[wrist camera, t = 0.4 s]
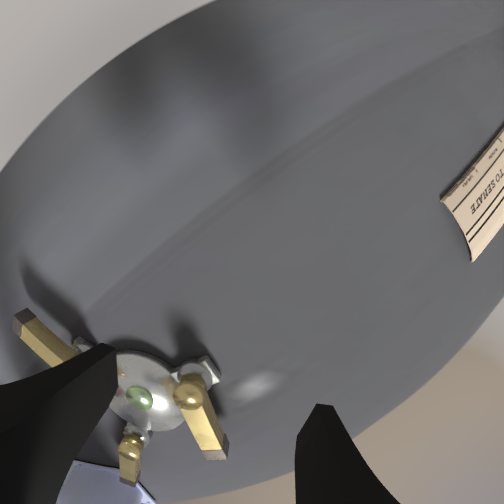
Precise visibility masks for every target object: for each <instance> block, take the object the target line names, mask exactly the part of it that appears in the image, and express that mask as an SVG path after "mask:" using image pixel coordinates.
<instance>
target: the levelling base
mask: <svg viewBox="0 0 504 504" xmlns="http://www.w3.org/2000/svg"><path fill="white" fill-rule="evenodd" d="M94 346H96V345H95V344H94V343H92V342H90V341H87V340H84V339H83V338H82V337H81V336H79V337H77V338H76V339H75V340H74V343H73V346H72V349H73V350H74V351H76V352H77V353H80V354H81V353H83V352H85V351H87V350H89V349H90V348H92V347H94ZM116 356H117V373H118V385H119V387H118V389H117V391H116V393H115V395H114V397H113V399H112V401H111V403H110V405H109V407H110V408H111V409H112V410H113V411H114V412H115V413H116V414H117V415H119V416H120V417H121V418H122V419H124V420H125V421H127V424H126V426H125V428H124V430H123V433H124V435H125V434H133V435H136V436H138V437H139V438H141V439H142V440H143V442H144V447H146V446H147V444H148V443H149V441H150V439H151V437H152V431H166V430H170V429H173V428H176V427H177V426H179V425H180V424H181V423H182V422H183V421H184V419H185V417H184V415H183V413H182V411H181V409H180V407H179V406H178V405H176V403H175V402H174V400H173V393H174V391H175V389H176V386H177V384H178V382H179V379H180V378H181V376H182V375H184V374H187V373H193V374H197V375H199V376H200V377H202V378H203V379H204V380H205V382H206V384H207V389H206V391H208V390H209V389H210V388H211V386H212V384H215V383H217V382H220V378H221V374H220V373H219V371H218V370H217V368H216V367H215V365H214V364H213V363H212V361H211V360H210V358H209V357H208V355H205V356H203V357H200V358H189V359H187V360H185V361H184V362H183V363H182V365H180V366H178V367H175V368H172V367H171V366H170V365H169V364H167V363H166V362H164V361H163V360H161V359H160V358H158V357H156V356H154V355H151V354H149V353H146V352H143V351H138V350H123V351H119V352H116Z"/></svg>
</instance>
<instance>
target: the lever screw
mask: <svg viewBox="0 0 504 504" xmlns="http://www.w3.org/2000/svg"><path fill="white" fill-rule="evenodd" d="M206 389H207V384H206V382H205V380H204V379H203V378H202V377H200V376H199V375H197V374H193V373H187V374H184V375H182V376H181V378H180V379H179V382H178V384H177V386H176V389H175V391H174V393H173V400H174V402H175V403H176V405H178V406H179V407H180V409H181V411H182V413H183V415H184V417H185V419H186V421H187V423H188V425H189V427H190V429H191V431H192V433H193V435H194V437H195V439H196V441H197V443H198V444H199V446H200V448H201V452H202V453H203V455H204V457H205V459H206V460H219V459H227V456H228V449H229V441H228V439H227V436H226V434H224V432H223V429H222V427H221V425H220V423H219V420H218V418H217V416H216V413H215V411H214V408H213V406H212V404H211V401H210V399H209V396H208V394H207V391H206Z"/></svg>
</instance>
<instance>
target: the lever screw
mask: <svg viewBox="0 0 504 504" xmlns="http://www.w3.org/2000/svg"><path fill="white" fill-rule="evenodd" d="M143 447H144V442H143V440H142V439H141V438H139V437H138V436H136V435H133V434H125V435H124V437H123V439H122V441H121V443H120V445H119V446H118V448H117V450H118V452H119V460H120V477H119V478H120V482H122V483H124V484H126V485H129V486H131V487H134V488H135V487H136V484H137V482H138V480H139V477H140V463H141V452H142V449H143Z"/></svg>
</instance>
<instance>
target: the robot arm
mask: <svg viewBox="0 0 504 504" xmlns="http://www.w3.org/2000/svg"><path fill="white" fill-rule="evenodd" d="M118 387H119V385H118V373H117V356H116V348H114V347H111V346H109V345H106V344H104V343H100V344H98V345H96V346H94V347H92V348H90V349H89V350H87V351H85V352H83V353H81V354H79V355H77V356H75V357H73V358H71V359H69V360H67V361H65V362H63V363H61V364H59V365H57V366H54V367H52V368H50V369H48V370H45V371H43V372H40V373H38V374H36V375H33V376H31V377H28V378H25V379H22V380H19V381H15V382H12V383H8V384H4V385H0V504H55V503H56V501H57V503H58V504H141V503H147V504H155V503H156V501H155V500H154V499H153V498H152V497H151V496H150V495H149V494H148V493H147V492H146V491H145V489H144V488H143V487H142V486H141V485H140V484H139V483H138V482H137V484H136V487H135V488H134V487H131V486H129V485H126V484H124V483H122V482H120V478H119V477H120V469H117V468H111V467H105V466H100V465H95V464H90V463H85V462H81V461H77V460H74V459H75V457H76V455H77V453H78V451H79V450H80V448H81V446H82V445H83V443H84V442H85V440H86V439H87V438H88V436H89V435H90V433H91V432H92V430H93V429H94V427H95V426H96V425H97V423H98V422H99V420H100V419H101V417H102V416H103V414H104V413H105V411H106V410H107V408H108V407H109V405H110V403H111V401H112V399H113V397H114V395H115V393H116V391H117V389H118ZM72 463H73V464H74V465H75V467H74V469H73V471H72V472H71V474H70V475H69V477H68V479H67V480H66V482H65V483H64V485H63V482H64V480H65V478H66V475H67V473H68V471H69V469H70V467H71V465H72ZM62 485H63V487H62ZM61 487H62V488H61ZM295 489H296V504H400V503H399V502H398V501H397V500H396V499H395V498H394V497H393V496H392V495H391V494H390V492H389V491H388V490H387V489H386V488H385V487H384V486H383V485H382V483H381V482H380V481H379V480H378V479H377V477H376V476H375V474H374V473H373V472H372V470H371V469H370V468H369V466H368V465H367V463H366V462H365V460H364V459H363V457H362V456H361V454H360V452H359V451H358V449H357V448H356V446H355V444H354V443H353V441H352V439H351V437H350V436H349V434H348V432H347V430H346V429H345V427H344V425H343V423H342V421H341V420H340V418H339V416H338V414H337V412H336V411H335V409H334V407H333V406H331V405H324V404H316V405H315V407H314V409H313V411H312V412H311V414H310V416H309V417H308V419H307V421H306V422H305V424H304V426H303V427H302V429H301V430H300V432H299V434H298V435H297V441H296V450H295Z"/></svg>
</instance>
